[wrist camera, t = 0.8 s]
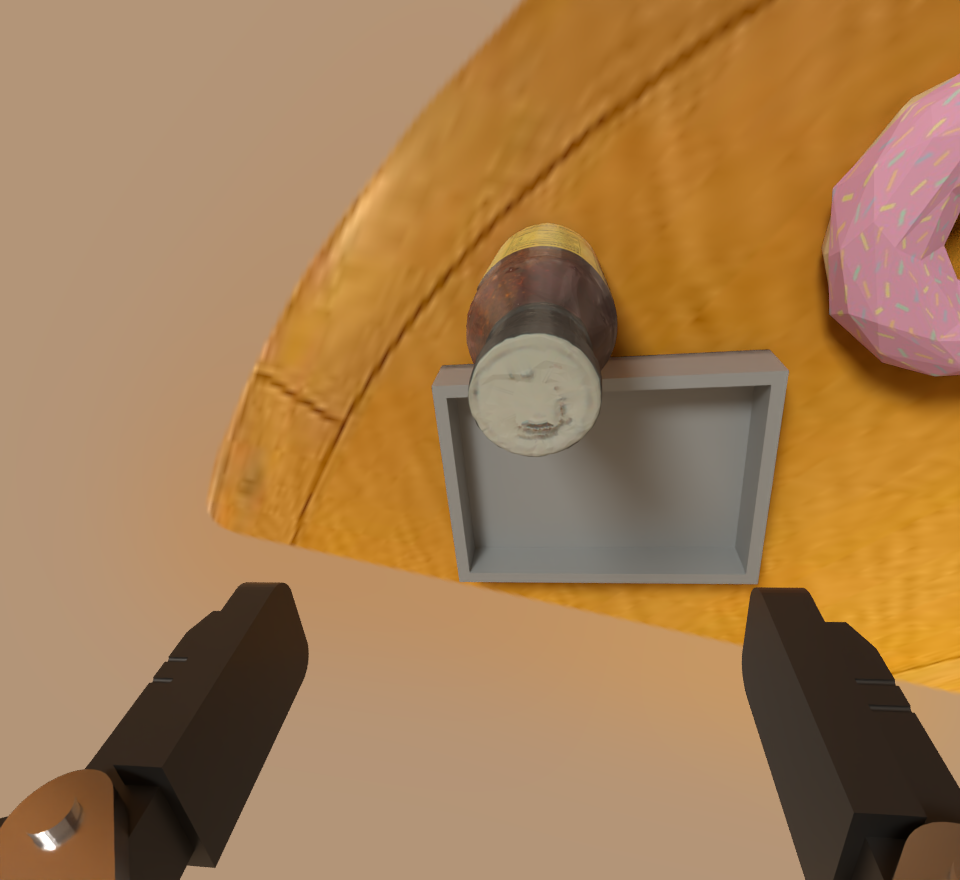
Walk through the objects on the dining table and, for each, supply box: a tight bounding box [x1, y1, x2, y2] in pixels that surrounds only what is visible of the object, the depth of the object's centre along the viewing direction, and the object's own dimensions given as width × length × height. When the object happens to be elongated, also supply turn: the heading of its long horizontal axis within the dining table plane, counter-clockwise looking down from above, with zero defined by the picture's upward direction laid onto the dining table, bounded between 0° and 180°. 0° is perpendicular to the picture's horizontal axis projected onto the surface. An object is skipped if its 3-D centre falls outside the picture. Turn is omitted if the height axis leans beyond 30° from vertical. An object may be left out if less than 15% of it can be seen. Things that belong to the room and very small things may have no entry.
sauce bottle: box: [466, 223, 617, 457], centre depth 27 cm, size 6×6×20 cm
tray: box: [432, 350, 789, 584], centre depth 39 cm, size 20×15×4 cm
